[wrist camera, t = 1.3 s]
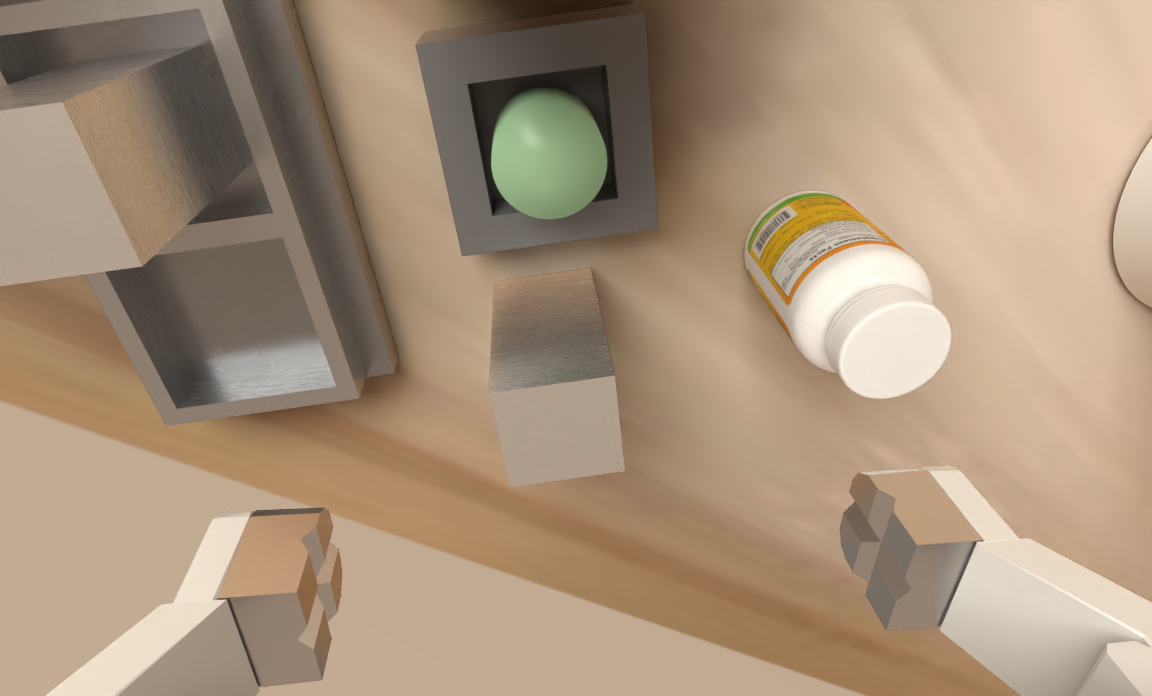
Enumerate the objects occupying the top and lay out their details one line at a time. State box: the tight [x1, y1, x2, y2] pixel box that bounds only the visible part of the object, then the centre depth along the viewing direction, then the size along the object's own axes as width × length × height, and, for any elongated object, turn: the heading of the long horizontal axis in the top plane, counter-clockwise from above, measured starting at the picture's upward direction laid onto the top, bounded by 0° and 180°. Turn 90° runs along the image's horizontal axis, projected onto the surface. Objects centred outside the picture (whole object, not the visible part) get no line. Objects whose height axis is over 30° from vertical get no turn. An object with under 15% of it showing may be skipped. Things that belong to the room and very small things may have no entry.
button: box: [491, 86, 607, 219], centre depth 25 cm, size 4×4×3 cm
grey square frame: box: [416, 4, 658, 256], centre depth 28 cm, size 8×8×3 cm
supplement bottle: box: [744, 190, 951, 399], centre depth 29 cm, size 5×5×10 cm
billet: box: [489, 268, 625, 487], centre depth 30 cm, size 4×4×9 cm
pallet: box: [0, 0, 399, 426], centre depth 25 cm, size 11×17×10 cm, turn 7°
